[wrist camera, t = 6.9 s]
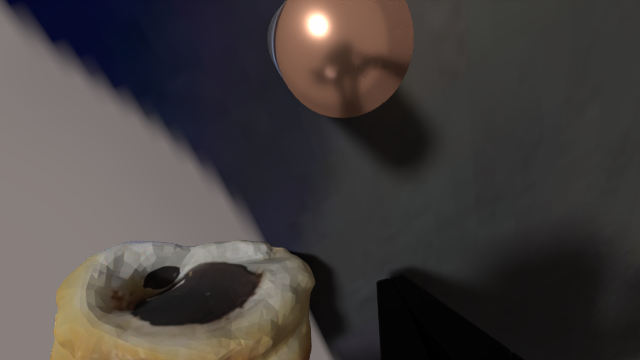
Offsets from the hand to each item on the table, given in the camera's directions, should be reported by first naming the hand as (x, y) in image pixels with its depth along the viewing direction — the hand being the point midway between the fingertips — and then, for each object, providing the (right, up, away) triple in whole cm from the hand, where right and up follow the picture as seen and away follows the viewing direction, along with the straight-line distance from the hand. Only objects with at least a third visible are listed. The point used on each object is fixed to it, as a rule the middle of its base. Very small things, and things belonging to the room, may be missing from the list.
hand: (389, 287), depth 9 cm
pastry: (-6, -2, +1) cm, 6 cm away
